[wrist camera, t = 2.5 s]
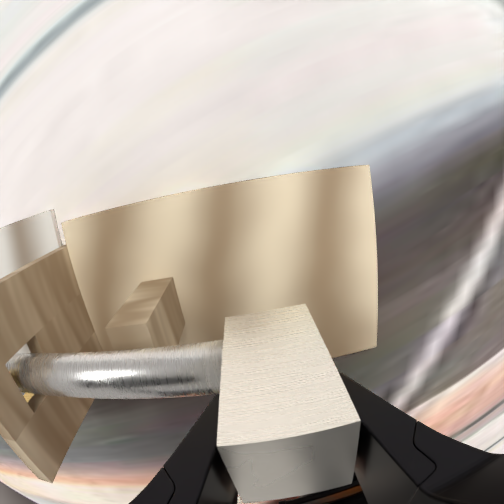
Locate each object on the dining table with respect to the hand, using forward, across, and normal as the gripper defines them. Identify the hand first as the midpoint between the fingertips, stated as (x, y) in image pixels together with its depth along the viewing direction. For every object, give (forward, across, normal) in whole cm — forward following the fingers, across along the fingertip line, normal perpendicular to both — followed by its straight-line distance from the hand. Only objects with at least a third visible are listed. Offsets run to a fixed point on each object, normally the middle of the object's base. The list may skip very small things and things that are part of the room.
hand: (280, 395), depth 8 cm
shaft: (+3, +9, 0) cm, 9 cm away
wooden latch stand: (+10, +7, 0) cm, 12 cm away
